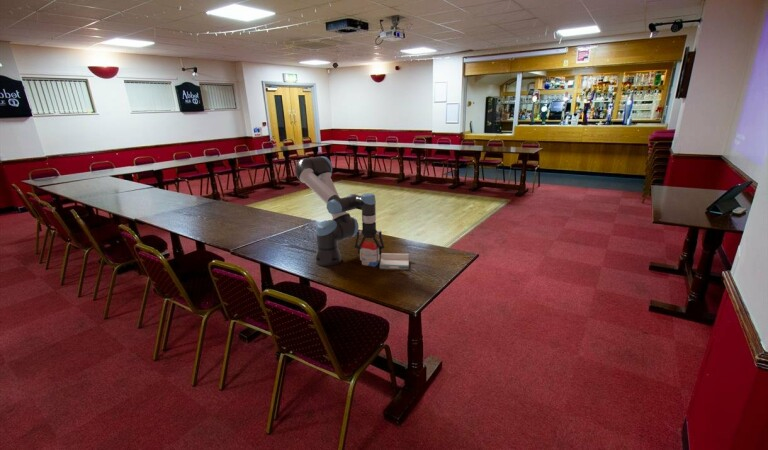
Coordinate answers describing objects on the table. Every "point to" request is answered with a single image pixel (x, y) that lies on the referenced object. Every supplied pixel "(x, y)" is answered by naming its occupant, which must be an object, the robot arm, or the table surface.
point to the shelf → (394, 261)
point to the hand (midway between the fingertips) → (369, 259)
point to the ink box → (369, 254)
